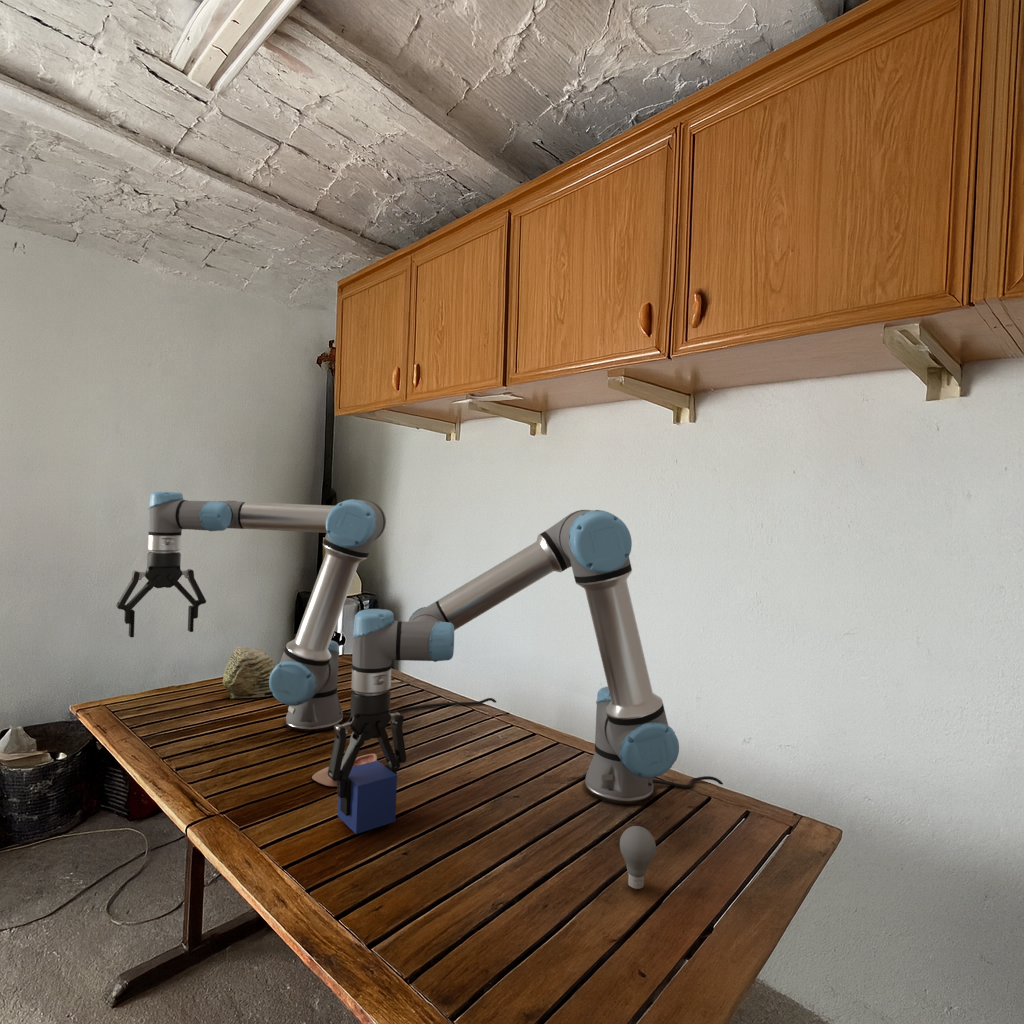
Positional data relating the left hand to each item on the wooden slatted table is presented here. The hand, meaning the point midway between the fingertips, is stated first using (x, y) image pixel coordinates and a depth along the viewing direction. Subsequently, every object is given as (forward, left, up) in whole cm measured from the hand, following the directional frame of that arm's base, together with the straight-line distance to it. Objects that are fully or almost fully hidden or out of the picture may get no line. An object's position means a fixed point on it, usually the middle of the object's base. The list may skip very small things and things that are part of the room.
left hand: (161, 633), depth 163 cm
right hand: (-8, +75, -22) cm, 78 cm away
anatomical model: (-18, +55, -26) cm, 63 cm away
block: (-8, +75, -25) cm, 79 cm away
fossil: (-34, -13, -26) cm, 44 cm away
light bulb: (-26, +124, -26) cm, 129 cm away
